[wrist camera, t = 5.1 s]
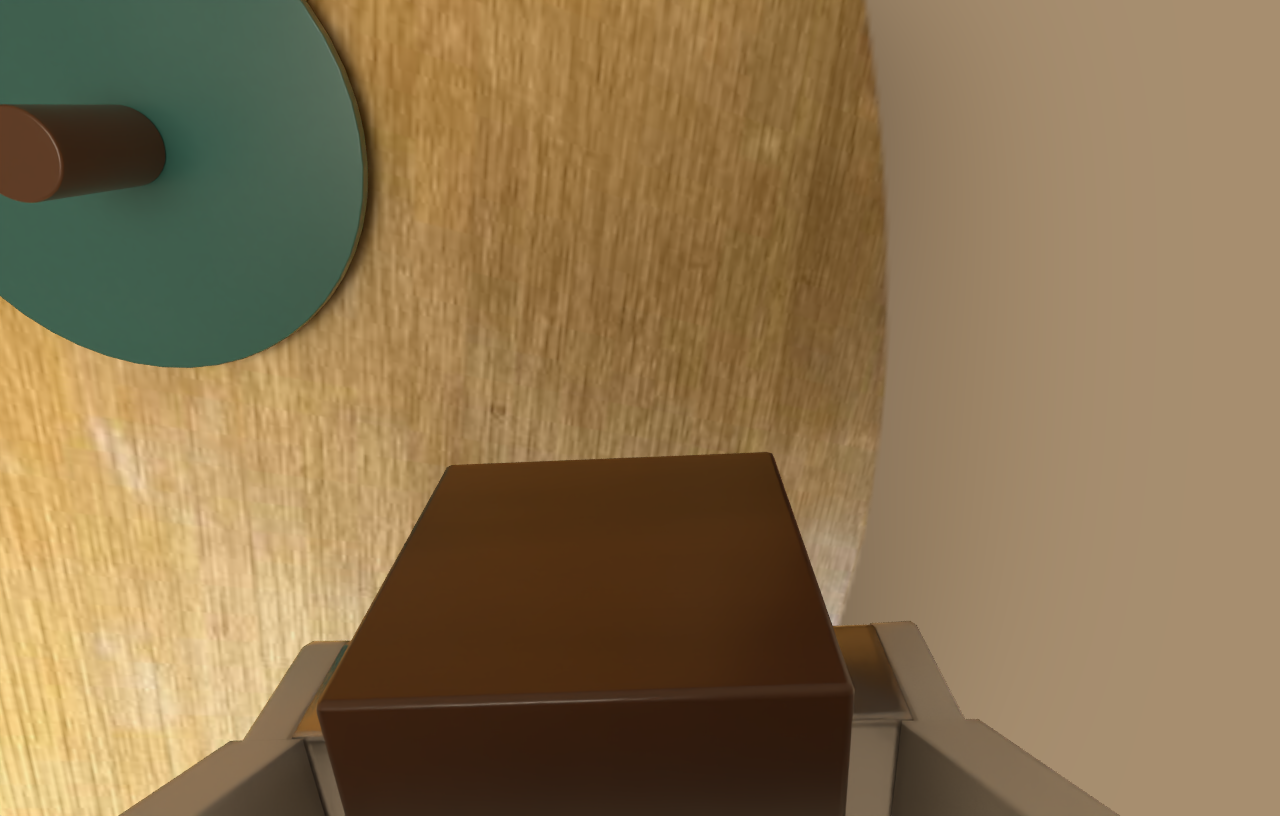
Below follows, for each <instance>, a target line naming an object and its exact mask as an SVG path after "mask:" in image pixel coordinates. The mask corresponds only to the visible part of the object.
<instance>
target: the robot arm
mask: <svg viewBox="0 0 1280 816" xmlns="http://www.w3.org/2000/svg"><path fill="white" fill-rule="evenodd" d="M833 629H834V632H835V635H836V638H837V640H838V643H839V646H840V649H841V652H842V655H843V658H844V661H845V664H846V666H847V669H848V672H849V675H850V678H851V681H852V684H853V687H854V689H855V693H854V706H853V720H852V734H851V747H850V761H849V775H848V788H847V802H846V816H1120V815H1118V814H1117V813H1115V812H1114V811H1112V810H1111V809H1110V808H1108V807H1107V806H1105V805H1104V804H1102V803H1100V802H1099V801H1098V800H1096V799H1095V798H1093V797H1092V796H1090V795H1089V794H1087V793H1086V792H1085V791H1083V790H1082V789H1080V788H1079V787H1077V786H1076V785H1074V784H1072V783H1071V782H1070V781H1068V780H1067V779H1065V778H1064V777H1062V776H1061V775H1060V774H1058V773H1057V772H1055V771H1054V770H1052V769H1051V768H1049V767H1048V766H1046V765H1045V764H1043V763H1042V762H1040V761H1039V760H1038V759H1036V758H1034V757H1033V756H1032V755H1030V754H1029V753H1027V752H1026V751H1024V750H1023V749H1021V748H1020V747H1019V746H1017V745H1016V744H1014V743H1013V742H1011V741H1010V740H1008V739H1007V738H1005V737H1004V736H1002V735H1001V734H999V733H998V732H997V731H995V730H993V729H992V728H991V727H989V726H988V725H986V724H985V723H983V722H982V721H980V720H979V719H965V718H964V716H963V714H962V712H961V710H960V708H959V706H958V704H957V702H956V700H955V698H954V696H953V695H952V693H951V691H950V689H949V687H948V685H947V683H946V681H945V679H944V677H943V675H942V673H941V671H940V669H939V668H938V666H937V664H936V662H935V660H934V658H933V656H932V654H931V652H930V650H929V648H928V647H927V644H926V642H925V640H924V639H923V637H922V635H921V633H920V631H919V629H918V627H917V625H915V624H914V623H912V622H911V621H901V622H883V623H870V625H844V626H843V625H842V626H833ZM350 642H351V641H312V642H311V643H309V644H307V645H306V646H304V647H303V648H302V649H301V651H300V652H299V654H298V655H297V657H296V658H295V660H294V661H293V663H292V665H291V666H290V668H289V669H288V671H287V672H286V674H285V675H284V677H283V679H282V680H281V682H280V683H279V685H278V686H277V688H276V689H275V691H274V693H273V694H272V696H271V697H270V699H269V700H268V702H267V703H266V705H265V707H264V708H263V710H262V711H261V713H260V714H259V716H258V718H257V719H256V721H255V722H254V724H253V725H252V727H251V728H250V730H249V732H248V733H247V735H246V736H245V738H244V739H243V741H230V742H228V743H227V744H225V745H224V746H222V747H221V748H219V749H218V750H216V751H215V752H213V753H212V754H210V755H209V756H207V757H206V758H204V759H203V760H201V761H200V762H198V763H197V764H195V765H194V766H192V767H191V768H189V769H188V770H186V771H185V772H183V773H182V774H180V775H179V776H177V777H176V778H174V779H173V780H171V781H170V782H168V783H167V784H165V785H164V786H162V787H161V788H159V789H158V790H156V791H155V792H153V793H152V794H150V795H149V796H147V797H146V798H144V799H143V800H141V801H140V802H138V803H137V804H135V805H134V806H132V807H131V808H129V809H128V810H126V811H125V812H123V813H122V814H120V815H119V816H345V812H344V809H343V805H342V802H341V798H340V795H339V791H338V787H337V784H336V780H335V777H334V773H333V770H332V766H331V762H330V759H329V755H328V752H327V748H326V745H325V741H324V737H323V734H322V730H321V727H320V723H319V720H318V716H317V712H316V707H317V703H318V700H319V698H320V696H321V694H322V693H323V691H324V689H325V687H326V685H327V684H328V682H329V680H330V678H331V676H332V675H333V673H334V671H335V669H336V667H337V666H338V664H339V662H340V660H341V658H342V657H343V655H344V653H345V651H346V649H347V647H348V646H349V644H350Z"/></svg>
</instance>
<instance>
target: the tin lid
mask: <svg viewBox="0 0 1280 816" xmlns="http://www.w3.org/2000/svg"><path fill="white" fill-rule="evenodd" d="M367 197H368V162H367V153H366V144H365V135H364V130H363V126H362V122H361V117H360V113H359V109H358V105H357V101H356V98H355V95H354V92H353V90H352V87H351V84H350V81H349V79H348V76H347V73H346V70H345V68H344V66H343V64H342V62H341V60H340V58H339V56H338V54H337V51H336V49H335V47H334V45H333V43H332V41H331V39H330V37H329V35H328V34H327V32H326V31H325V29H324V28H323V26H322V24H321V23H320V21H319V20H318V18H317V17H316V15H315V13H314V12H313V10H312V9H311V7H310V6H309V4H308V3H307V2H306V0H0V296H1V297H2V298H3V299H5V300H6V301H7V302H9V303H10V304H11V305H13V306H14V307H15V308H16V309H18V310H19V311H20V312H22V313H23V314H24V315H26V316H27V317H29V318H31V319H32V320H34V321H35V322H37V323H39V324H40V325H42V326H43V327H45V328H47V329H48V330H50V331H51V332H53V333H55V334H57V335H59V336H61V337H63V338H65V339H67V340H69V341H71V342H73V343H75V344H77V345H80V346H82V347H85V348H88V349H90V350H93V351H96V352H98V353H101V354H103V355H106V356H110V357H113V358H117V359H121V360H125V361H129V362H133V363H138V364H145V365H152V366H159V367H179V368H194V367H203V366H212V365H220V364H224V363H228V362H232V361H236V360H240V359H244V358H246V357H249V356H251V355H254V354H256V353H259V352H261V351H263V350H266V349H268V348H270V347H271V346H273V345H275V344H276V343H278V342H280V341H282V340H283V339H285V338H287V337H288V336H290V335H291V334H293V333H294V332H296V331H297V330H298V329H299V328H301V327H302V326H303V325H304V324H305V323H307V322H308V321H309V320H310V319H312V318H313V317H314V316H315V315H316V313H317V312H318V311H319V310H320V309H321V308H322V307H323V306H324V305H325V303H326V302H327V301H328V300H329V299H330V298H331V296H332V295H333V293H334V292H335V290H336V289H337V287H338V286H339V284H340V282H341V281H342V279H343V278H344V276H345V274H346V272H347V270H348V268H349V265H350V263H351V261H352V259H353V257H354V254H355V252H356V249H357V245H358V242H359V239H360V235H361V232H362V228H363V224H364V217H365V211H366V204H367Z"/></svg>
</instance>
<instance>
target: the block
mask: <svg viewBox="0 0 1280 816" xmlns="http://www.w3.org/2000/svg"><path fill="white" fill-rule="evenodd" d="M854 693H855V689H854V687H853V684H852V681H851V678H850V675H849V672H848V669H847V666H846V664H845V661H844V658H843V655H842V652H841V649H840V646H839V643H838V640H837V638H836V635H835V632H834V629H833V626H832V623H831V620H830V617H829V615H828V612H827V609H826V606H825V603H824V600H823V597H822V594H821V592H820V589H819V586H818V583H817V580H816V577H815V574H814V571H813V569H812V566H811V563H810V560H809V557H808V554H807V551H806V548H805V545H804V543H803V540H802V537H801V534H800V531H799V528H798V525H797V522H796V520H795V517H794V514H793V511H792V508H791V505H790V502H789V499H788V497H787V494H786V491H785V488H784V485H783V482H782V479H781V476H780V474H779V471H778V468H777V465H776V462H775V459H774V457H773V454H771V453H768V452H759V453H734V454H710V455H686V456H661V457H637V458H613V459H588V460H564V461H540V462H515V463H491V464H467V465H451V466H449V467H447V468H446V470H445V472H444V474H443V476H442V477H441V479H440V481H439V483H438V485H437V486H436V488H435V490H434V492H433V494H432V496H431V497H430V499H429V501H428V503H427V505H426V506H425V508H424V510H423V512H422V514H421V515H420V517H419V519H418V521H417V523H416V524H415V526H414V528H413V530H412V532H411V534H410V535H409V537H408V539H407V541H406V543H405V544H404V546H403V548H402V550H401V552H400V553H399V555H398V557H397V559H396V561H395V562H394V564H393V566H392V568H391V570H390V571H389V573H388V575H387V577H386V579H385V581H384V582H383V584H382V586H381V588H380V590H379V591H378V593H377V595H376V597H375V599H374V600H373V602H372V604H371V606H370V608H369V609H368V611H367V613H366V615H365V617H364V619H363V620H362V622H361V624H360V626H359V628H358V629H357V631H356V633H355V635H354V637H353V638H352V640H351V642H350V644H349V646H348V647H347V649H346V651H345V653H344V655H343V657H342V658H341V660H340V662H339V664H338V666H337V667H336V669H335V671H334V673H333V675H332V676H331V678H330V680H329V682H328V684H327V685H326V687H325V689H324V691H323V693H322V694H321V696H320V698H319V700H318V703H317V707H316V712H317V716H318V720H319V723H320V727H321V730H322V734H323V737H324V741H325V745H326V748H327V752H328V755H329V759H330V762H331V766H332V770H333V773H334V777H335V780H336V784H337V787H338V791H339V795H340V798H341V802H342V805H343V809H344V812H345V816H846V802H847V788H848V775H849V761H850V747H851V734H852V720H853V706H854Z"/></svg>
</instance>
